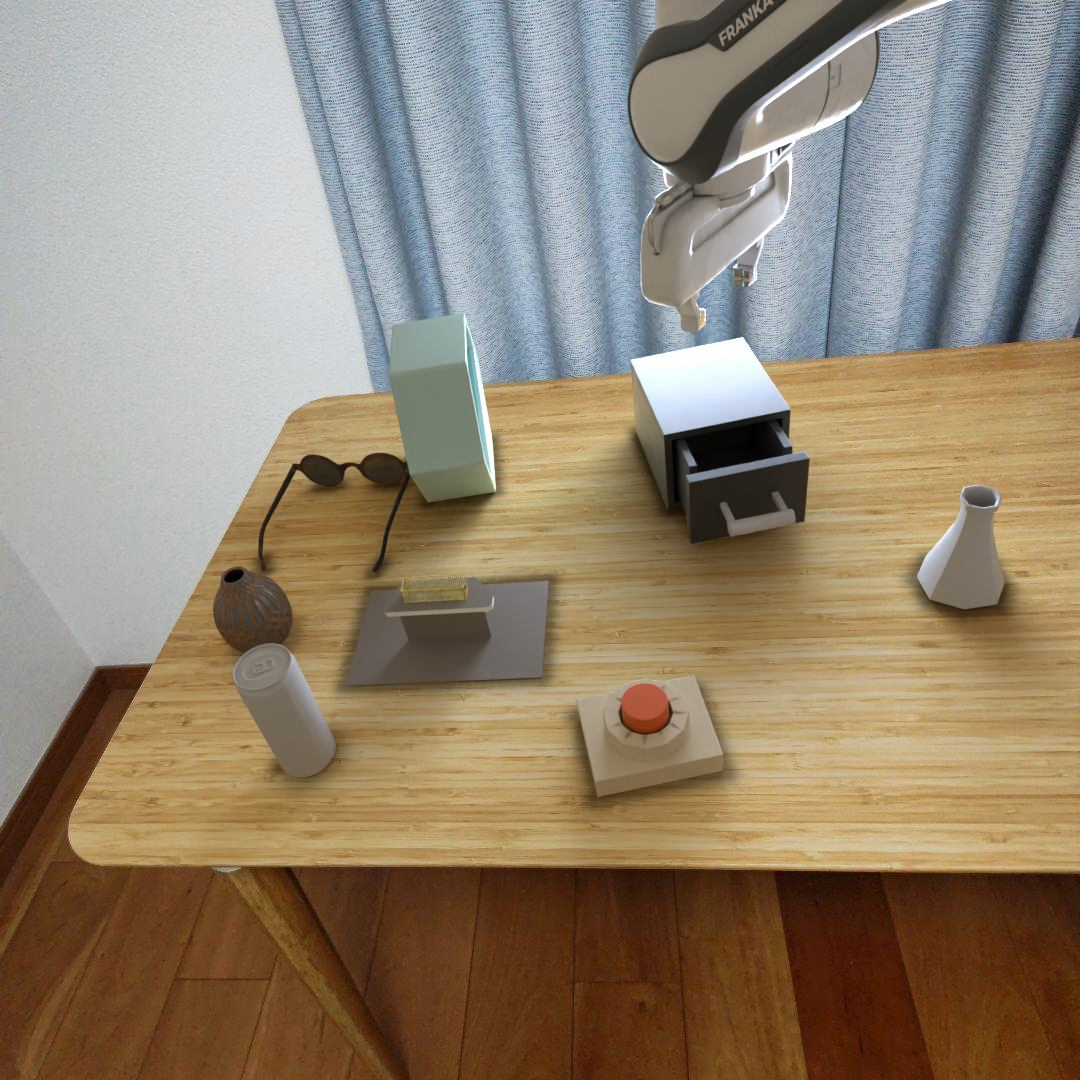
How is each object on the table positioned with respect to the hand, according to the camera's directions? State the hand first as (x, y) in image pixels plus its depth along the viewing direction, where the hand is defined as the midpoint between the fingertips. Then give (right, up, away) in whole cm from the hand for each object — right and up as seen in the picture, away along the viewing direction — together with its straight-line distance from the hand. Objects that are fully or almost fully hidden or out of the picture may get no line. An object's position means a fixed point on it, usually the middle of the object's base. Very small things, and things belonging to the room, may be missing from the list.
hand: (720, 305), depth 84 cm
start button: (-9, -36, -14) cm, 39 cm away
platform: (-25, -31, +1) cm, 40 cm away
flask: (+21, -26, -4) cm, 33 cm away
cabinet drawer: (+3, -18, +7) cm, 20 cm away
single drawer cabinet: (+1, -13, +14) cm, 19 cm away
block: (-8, -38, -12) cm, 41 cm away
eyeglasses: (-39, -21, +14) cm, 46 cm away
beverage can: (-36, -41, -8) cm, 55 cm away
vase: (-43, -32, +3) cm, 54 cm away
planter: (-26, -15, +18) cm, 35 cm away
